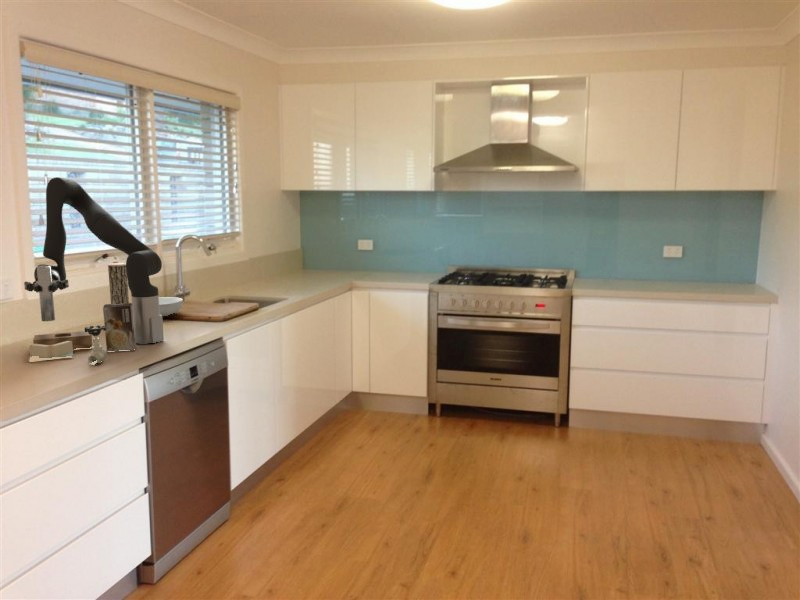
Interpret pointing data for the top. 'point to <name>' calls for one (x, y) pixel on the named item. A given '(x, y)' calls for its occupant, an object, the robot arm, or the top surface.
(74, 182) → the robot arm
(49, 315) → the axle
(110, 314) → the coffee box
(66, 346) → the v block
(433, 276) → the top surface
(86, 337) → the wooden block with hole
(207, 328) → the top surface
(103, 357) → the valve
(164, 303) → the serving bowl
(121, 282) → the wooden log
